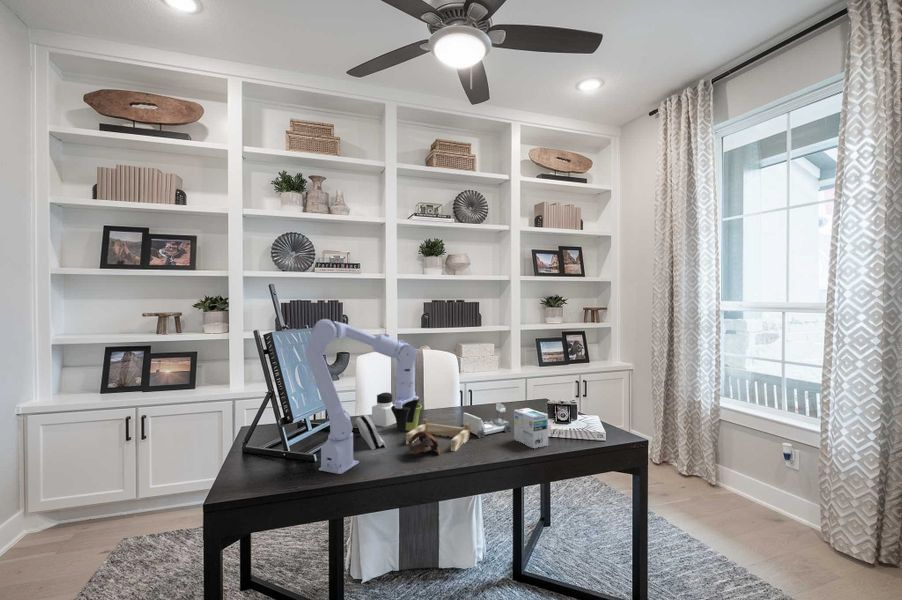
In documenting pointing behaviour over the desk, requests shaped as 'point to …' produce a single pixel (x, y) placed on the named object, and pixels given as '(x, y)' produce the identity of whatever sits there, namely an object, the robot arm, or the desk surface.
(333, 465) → the robot arm
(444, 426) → the cradle
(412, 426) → the plant pot
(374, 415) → the medicine bottle
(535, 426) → the light bulb box
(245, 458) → the desk surface
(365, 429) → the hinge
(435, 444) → the pottery mug
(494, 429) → the toy car
